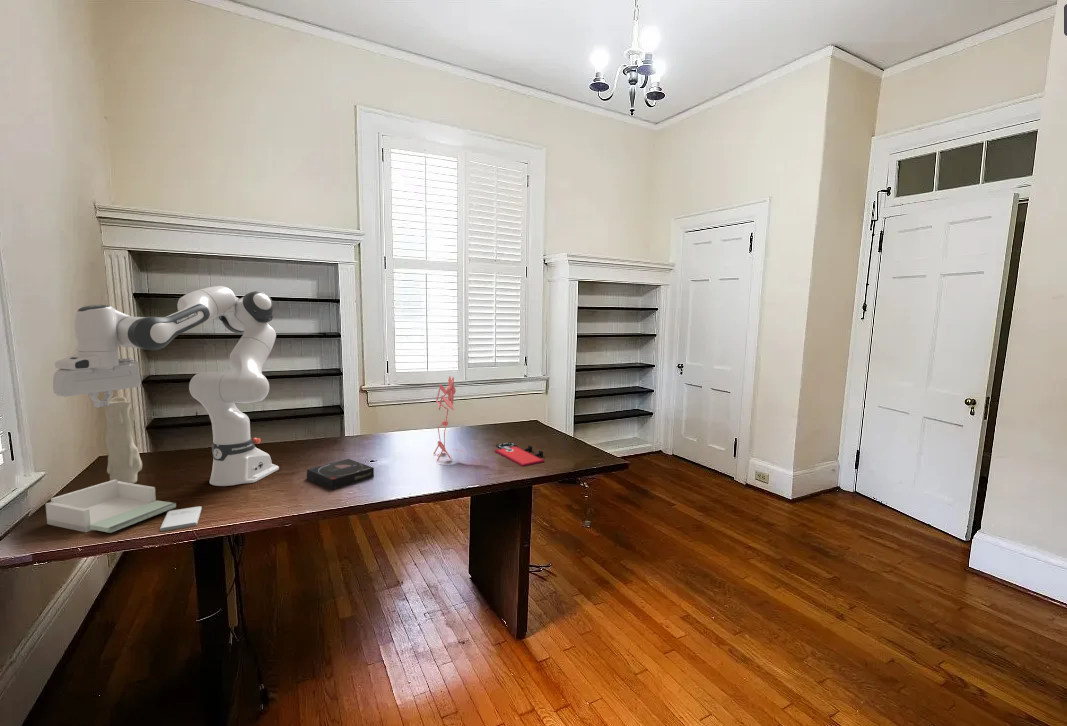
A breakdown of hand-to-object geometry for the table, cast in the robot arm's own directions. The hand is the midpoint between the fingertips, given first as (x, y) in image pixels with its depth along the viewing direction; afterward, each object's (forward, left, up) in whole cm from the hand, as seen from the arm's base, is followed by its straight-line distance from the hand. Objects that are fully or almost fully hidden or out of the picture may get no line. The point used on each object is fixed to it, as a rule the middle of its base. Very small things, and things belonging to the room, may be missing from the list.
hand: (101, 406), depth 135 cm
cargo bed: (+4, +4, -31) cm, 32 cm away
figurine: (-81, +75, -31) cm, 115 cm away
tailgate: (+4, +13, -30) cm, 32 cm away
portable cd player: (-44, +48, -32) cm, 72 cm away
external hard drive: (-1, +28, -32) cm, 42 cm away
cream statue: (-15, -16, -31) cm, 38 cm away
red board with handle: (-95, +101, -32) cm, 142 cm away
